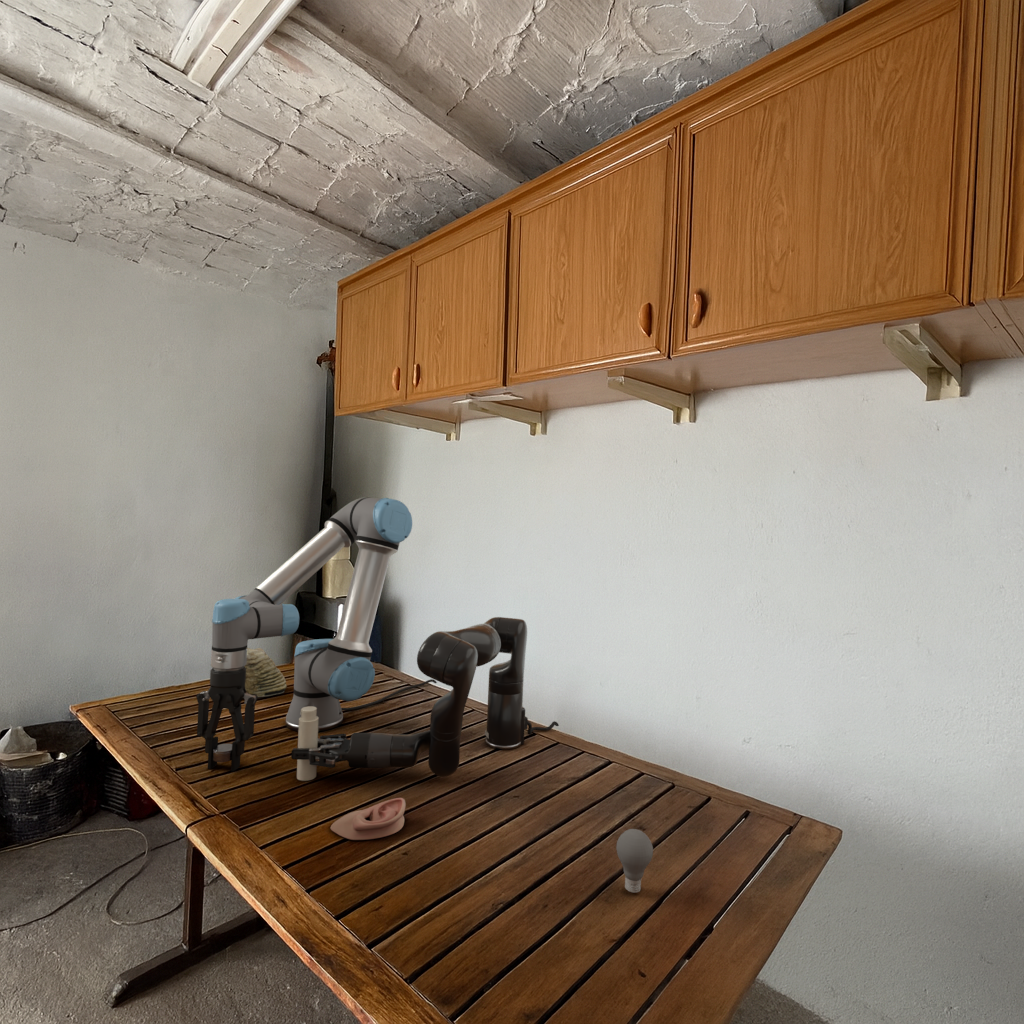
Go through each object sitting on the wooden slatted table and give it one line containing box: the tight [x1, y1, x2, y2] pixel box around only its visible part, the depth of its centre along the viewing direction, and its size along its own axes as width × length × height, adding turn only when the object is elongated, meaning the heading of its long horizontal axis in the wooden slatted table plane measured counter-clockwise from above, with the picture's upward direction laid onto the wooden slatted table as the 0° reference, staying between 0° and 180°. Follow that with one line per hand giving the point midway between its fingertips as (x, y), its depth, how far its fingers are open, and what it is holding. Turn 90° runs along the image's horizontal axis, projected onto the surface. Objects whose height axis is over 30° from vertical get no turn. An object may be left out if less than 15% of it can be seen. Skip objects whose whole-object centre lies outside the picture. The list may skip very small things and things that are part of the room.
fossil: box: [244, 647, 288, 698], centre depth 198 cm, size 9×18×15 cm, turn 132°
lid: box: [213, 743, 232, 763], centre depth 146 cm, size 5×5×2 cm
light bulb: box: [615, 828, 654, 894], centre depth 106 cm, size 6×6×10 cm
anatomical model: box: [330, 797, 407, 841], centre depth 123 cm, size 13×4×12 cm
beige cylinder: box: [296, 706, 319, 782], centre depth 143 cm, size 4×4×16 cm
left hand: (223, 767), depth 146 cm, fingers closed on lid, 5 cm apart
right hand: (295, 749), depth 143 cm, fingers closed on beige cylinder, 4 cm apart
